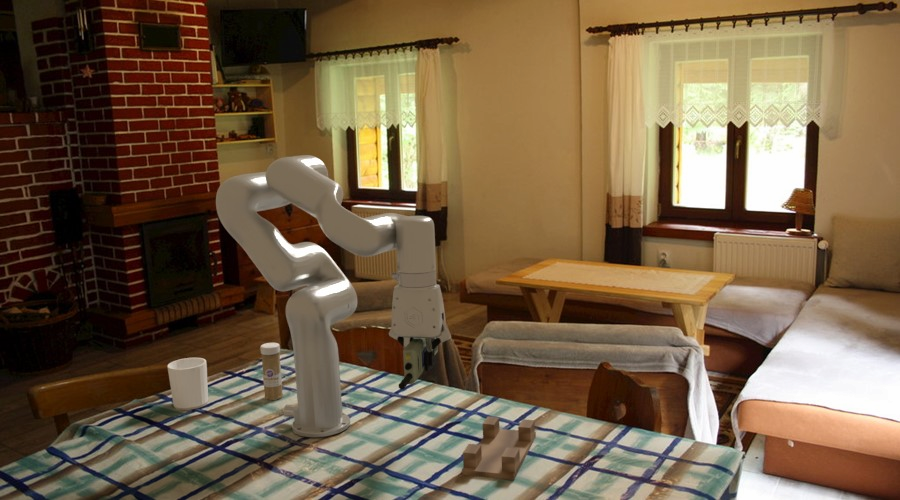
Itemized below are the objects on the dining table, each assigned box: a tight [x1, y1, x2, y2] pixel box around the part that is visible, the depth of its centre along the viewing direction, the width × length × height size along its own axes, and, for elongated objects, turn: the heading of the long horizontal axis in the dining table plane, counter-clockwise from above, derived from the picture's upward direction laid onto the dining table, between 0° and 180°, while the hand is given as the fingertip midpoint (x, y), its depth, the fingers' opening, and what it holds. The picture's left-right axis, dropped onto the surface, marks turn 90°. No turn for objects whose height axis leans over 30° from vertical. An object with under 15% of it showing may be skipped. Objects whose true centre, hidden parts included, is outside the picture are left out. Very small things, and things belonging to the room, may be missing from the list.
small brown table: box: [461, 415, 537, 481], centre depth 155 cm, size 10×20×4 cm, turn 162°
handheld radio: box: [398, 337, 439, 390], centre depth 157 cm, size 7×3×25 cm
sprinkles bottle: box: [259, 342, 284, 401], centre depth 191 cm, size 5×5×13 cm
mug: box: [167, 357, 209, 411], centre depth 189 cm, size 11×9×10 cm
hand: (421, 367), depth 157 cm, fingers closed on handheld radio, 2 cm apart
